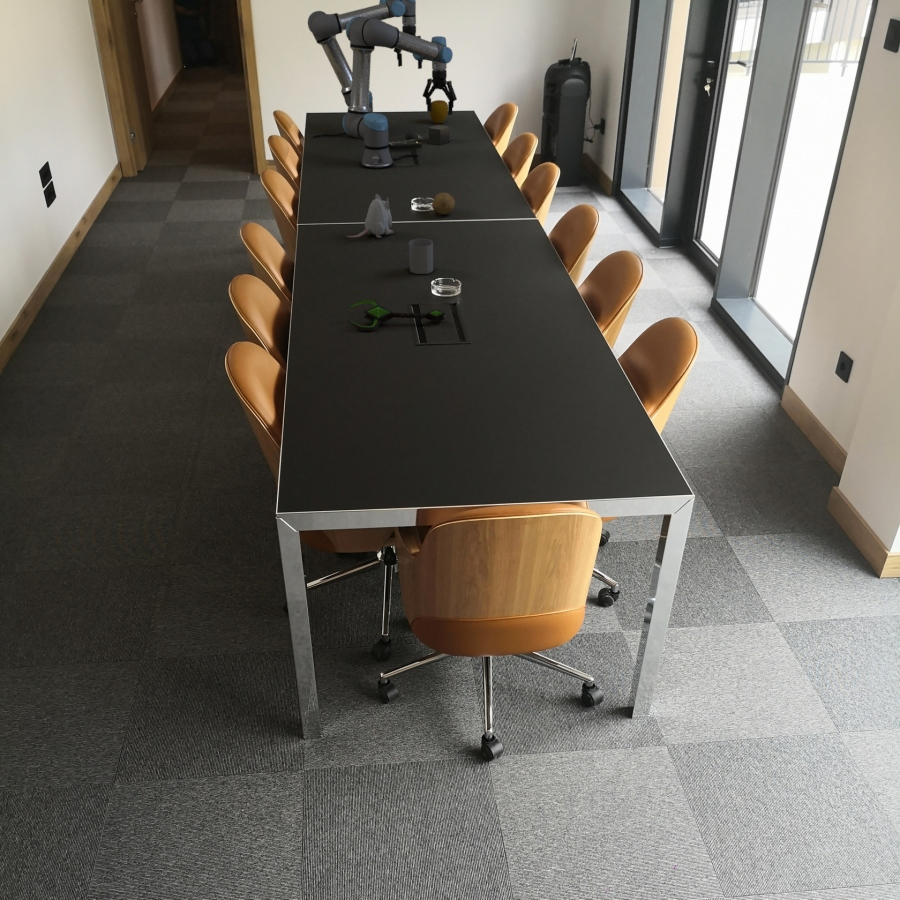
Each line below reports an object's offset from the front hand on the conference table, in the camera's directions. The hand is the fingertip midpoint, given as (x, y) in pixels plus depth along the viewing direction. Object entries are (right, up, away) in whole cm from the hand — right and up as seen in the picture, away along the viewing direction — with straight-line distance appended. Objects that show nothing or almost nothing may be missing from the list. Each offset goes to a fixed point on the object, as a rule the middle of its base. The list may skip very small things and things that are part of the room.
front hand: (439, 113), depth 458 cm
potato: (+3, -79, -95) cm, 124 cm away
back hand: (-17, +34, +24) cm, 45 cm away
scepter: (-11, -139, -188) cm, 234 cm away
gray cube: (-1, -12, +9) cm, 15 cm away
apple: (-1, +13, +48) cm, 50 cm away
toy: (-26, -96, -121) cm, 157 cm away
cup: (-5, -114, -150) cm, 188 cm away
